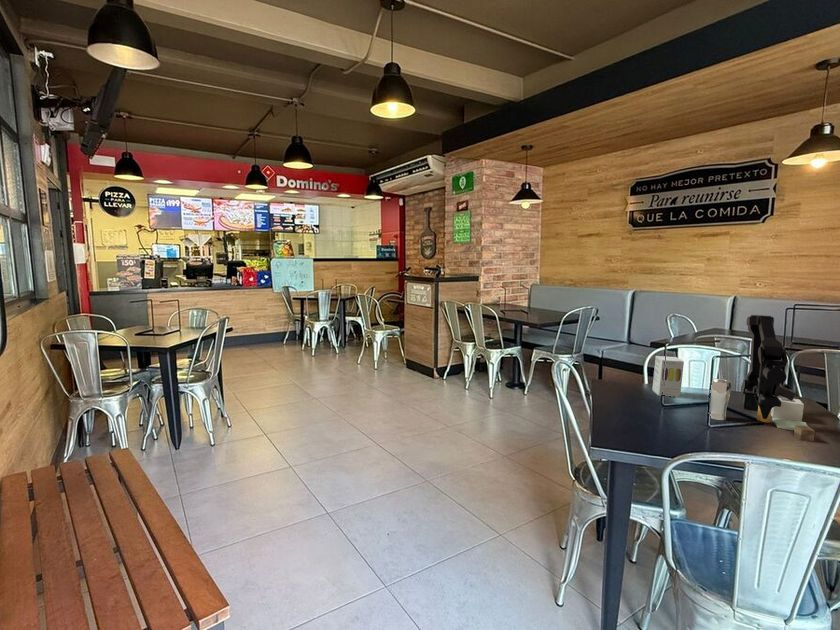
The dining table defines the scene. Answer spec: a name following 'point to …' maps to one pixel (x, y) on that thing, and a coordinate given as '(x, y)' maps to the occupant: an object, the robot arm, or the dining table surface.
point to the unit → (788, 410)
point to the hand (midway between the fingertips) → (763, 417)
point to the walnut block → (804, 433)
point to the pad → (787, 423)
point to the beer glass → (719, 398)
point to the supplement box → (668, 376)
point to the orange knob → (760, 418)
